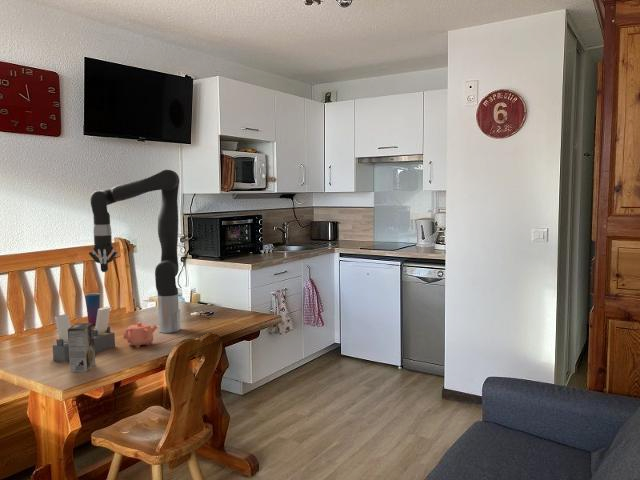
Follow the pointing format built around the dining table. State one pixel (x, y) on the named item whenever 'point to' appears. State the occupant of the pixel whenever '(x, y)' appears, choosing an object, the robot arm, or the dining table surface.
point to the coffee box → (81, 347)
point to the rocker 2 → (102, 319)
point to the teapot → (139, 334)
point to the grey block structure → (100, 343)
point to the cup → (92, 306)
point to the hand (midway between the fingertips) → (104, 271)
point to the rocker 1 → (63, 326)
